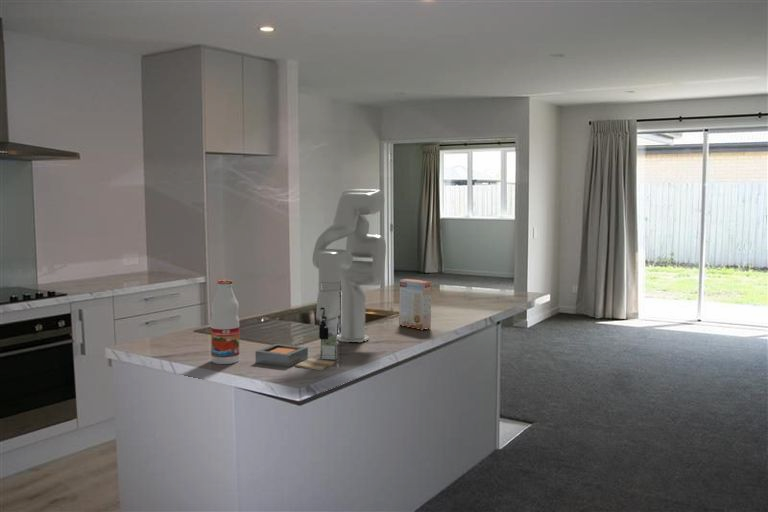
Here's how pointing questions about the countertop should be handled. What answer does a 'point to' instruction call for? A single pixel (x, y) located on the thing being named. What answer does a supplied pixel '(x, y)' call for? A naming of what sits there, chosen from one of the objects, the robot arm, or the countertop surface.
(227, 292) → the fruit juice
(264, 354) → the frame
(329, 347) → the syrup box
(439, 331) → the countertop surface
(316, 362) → the cork coaster
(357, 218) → the robot arm
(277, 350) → the button
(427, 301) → the cracker box
